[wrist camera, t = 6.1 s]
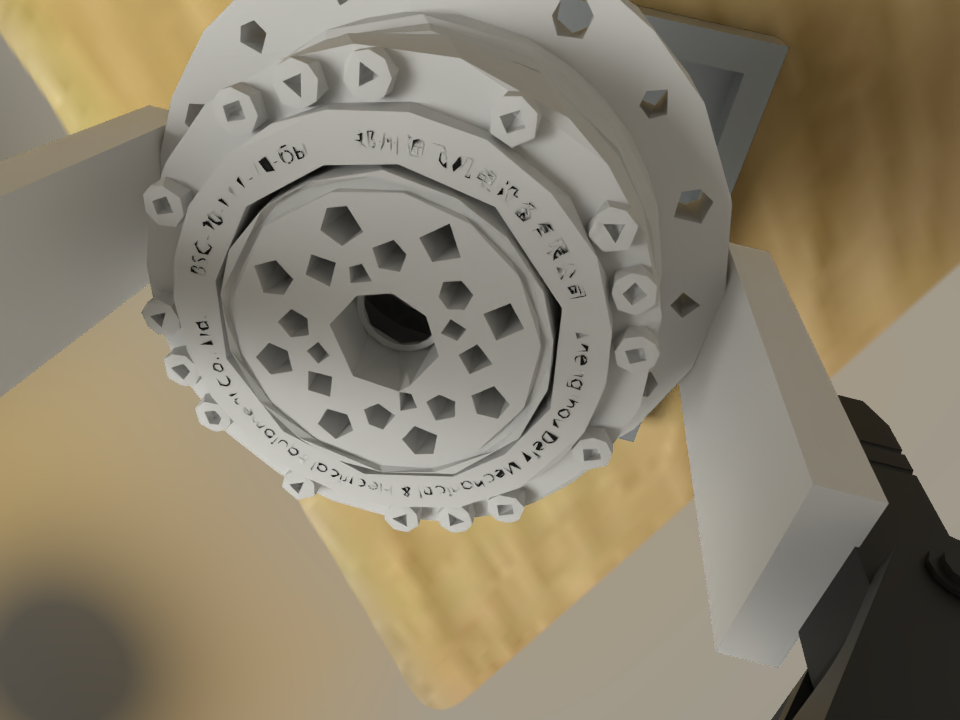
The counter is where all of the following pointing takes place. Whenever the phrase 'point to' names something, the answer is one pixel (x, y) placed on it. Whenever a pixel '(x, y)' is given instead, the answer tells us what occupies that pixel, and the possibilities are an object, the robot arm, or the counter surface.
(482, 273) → the mechanical component
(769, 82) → the dock tray
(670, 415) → the counter surface
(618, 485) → the counter surface
